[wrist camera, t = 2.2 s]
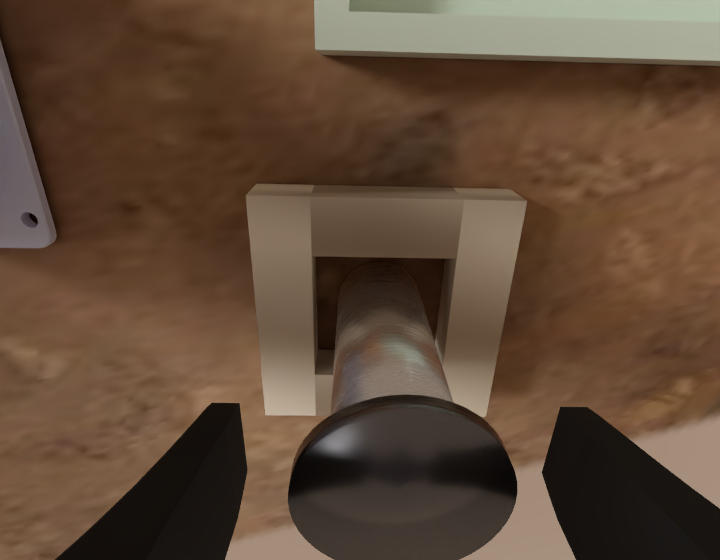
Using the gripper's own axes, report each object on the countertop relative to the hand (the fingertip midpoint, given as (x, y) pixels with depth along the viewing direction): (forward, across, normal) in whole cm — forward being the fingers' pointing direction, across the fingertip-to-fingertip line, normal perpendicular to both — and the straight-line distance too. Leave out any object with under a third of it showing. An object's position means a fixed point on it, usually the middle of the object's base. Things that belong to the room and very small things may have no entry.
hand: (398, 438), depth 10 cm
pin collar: (+7, 0, 0) cm, 7 cm away
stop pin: (+7, 0, 0) cm, 7 cm away
